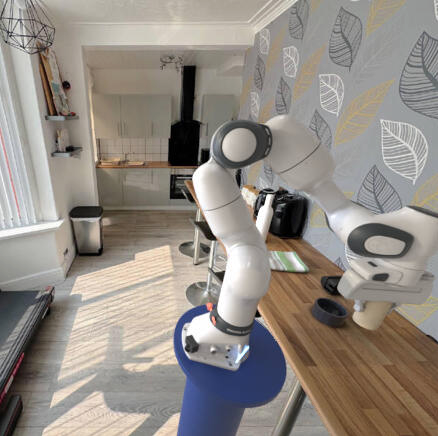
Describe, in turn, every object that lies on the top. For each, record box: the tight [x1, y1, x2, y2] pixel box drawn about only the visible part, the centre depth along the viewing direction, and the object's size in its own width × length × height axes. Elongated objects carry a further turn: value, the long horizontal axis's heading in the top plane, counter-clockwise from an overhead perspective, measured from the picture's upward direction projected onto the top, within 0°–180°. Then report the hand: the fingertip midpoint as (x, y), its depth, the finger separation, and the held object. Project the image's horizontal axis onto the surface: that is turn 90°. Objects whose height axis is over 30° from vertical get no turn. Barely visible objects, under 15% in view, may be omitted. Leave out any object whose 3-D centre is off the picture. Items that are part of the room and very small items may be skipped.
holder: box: [311, 297, 349, 328], centre depth 91 cm, size 10×10×5 cm
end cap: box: [320, 274, 343, 296], centre depth 106 cm, size 10×7×7 cm
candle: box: [352, 301, 392, 331], centre depth 64 cm, size 6×6×10 cm
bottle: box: [255, 193, 275, 243], centre depth 143 cm, size 8×8×30 cm
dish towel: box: [268, 249, 310, 274], centre depth 126 cm, size 17×23×4 cm
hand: (370, 311), depth 64 cm, fingers closed on candle, 5 cm apart
